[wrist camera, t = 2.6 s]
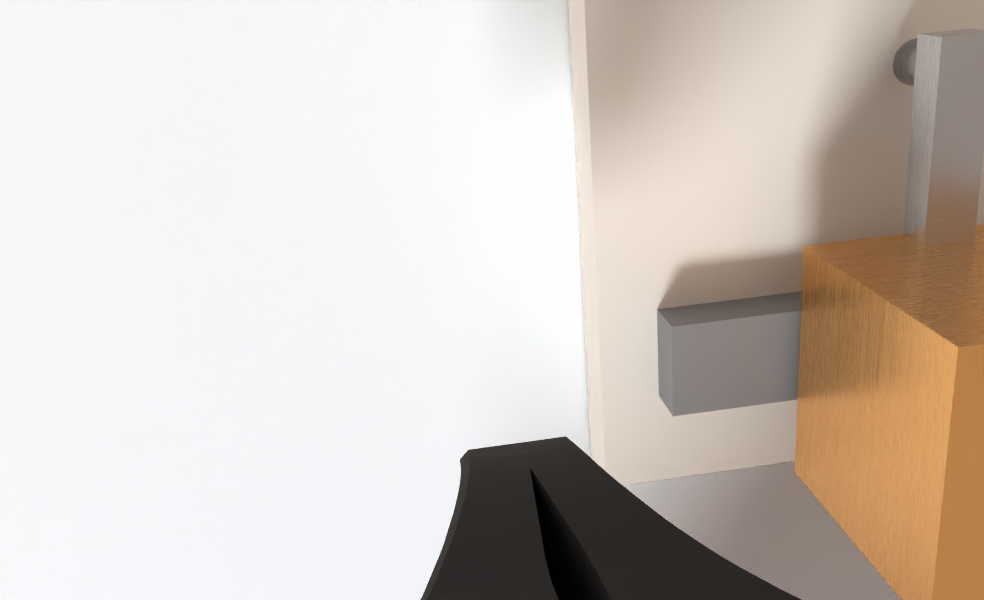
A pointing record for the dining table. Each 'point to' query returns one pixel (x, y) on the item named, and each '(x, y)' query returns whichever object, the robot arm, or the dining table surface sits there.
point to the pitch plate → (725, 206)
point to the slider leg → (907, 348)
